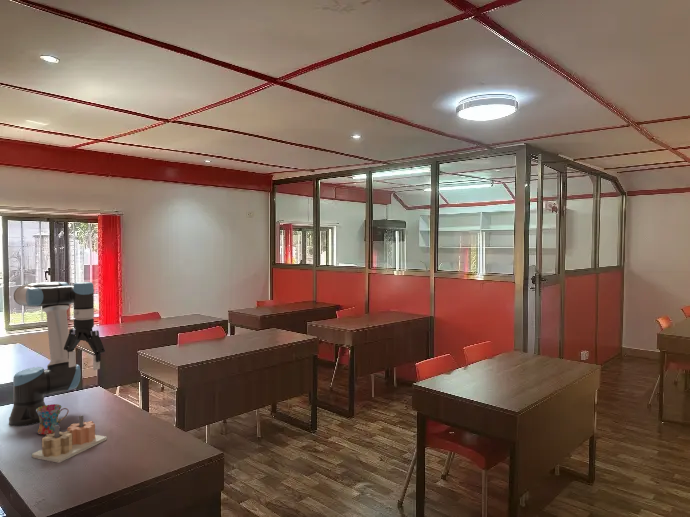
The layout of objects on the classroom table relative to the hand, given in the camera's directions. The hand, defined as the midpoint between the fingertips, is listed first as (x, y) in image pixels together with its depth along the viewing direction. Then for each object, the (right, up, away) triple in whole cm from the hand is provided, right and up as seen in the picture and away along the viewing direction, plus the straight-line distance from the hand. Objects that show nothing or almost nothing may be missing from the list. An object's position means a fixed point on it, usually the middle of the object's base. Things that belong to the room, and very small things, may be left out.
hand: (84, 368), depth 197 cm
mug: (-16, -29, +4) cm, 33 cm away
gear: (0, -28, -18) cm, 33 cm away
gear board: (+2, -29, -12) cm, 32 cm away
